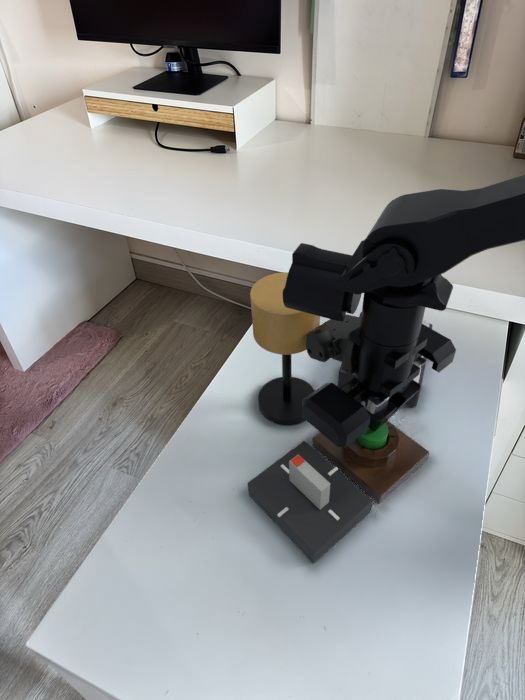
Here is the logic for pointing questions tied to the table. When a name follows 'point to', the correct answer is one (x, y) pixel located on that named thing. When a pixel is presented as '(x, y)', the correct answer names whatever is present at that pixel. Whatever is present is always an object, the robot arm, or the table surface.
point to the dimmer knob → (309, 481)
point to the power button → (374, 438)
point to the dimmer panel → (309, 503)
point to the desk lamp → (280, 348)
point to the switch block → (376, 461)
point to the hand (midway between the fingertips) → (373, 427)
